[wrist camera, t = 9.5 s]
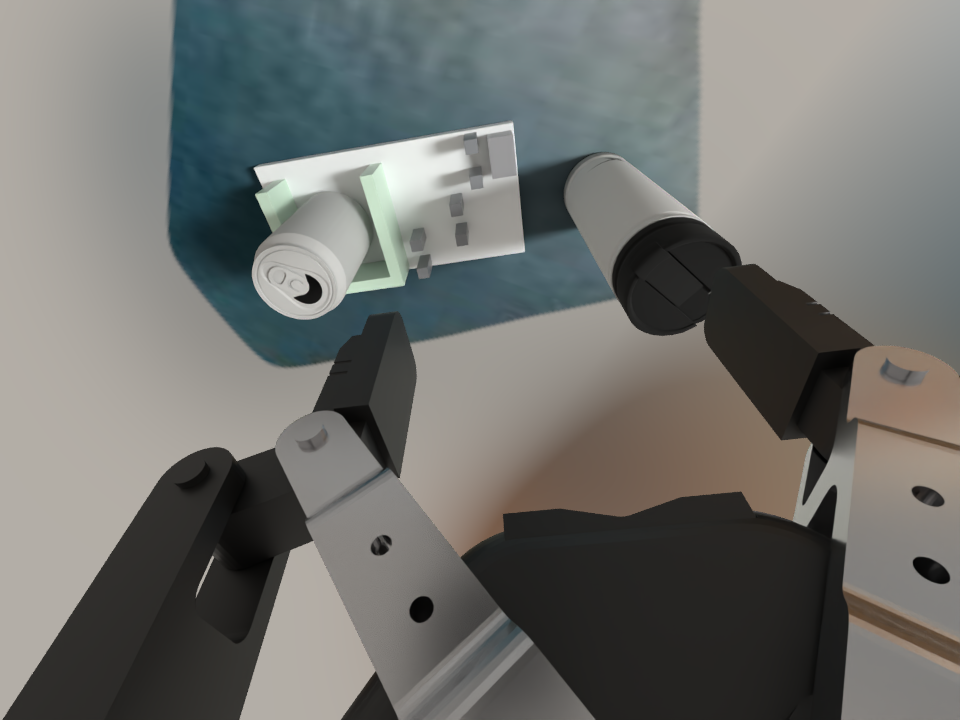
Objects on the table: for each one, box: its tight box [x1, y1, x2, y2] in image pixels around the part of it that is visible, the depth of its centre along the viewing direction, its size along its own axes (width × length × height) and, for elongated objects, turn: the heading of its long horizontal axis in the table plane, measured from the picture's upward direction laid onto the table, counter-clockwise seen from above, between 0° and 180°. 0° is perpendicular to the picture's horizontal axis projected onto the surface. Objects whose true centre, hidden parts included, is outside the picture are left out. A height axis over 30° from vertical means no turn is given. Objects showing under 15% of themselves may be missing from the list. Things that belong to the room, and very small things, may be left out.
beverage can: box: [252, 192, 373, 319], centre depth 34 cm, size 6×6×12 cm
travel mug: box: [564, 152, 742, 336], centre depth 30 cm, size 6×7×20 cm
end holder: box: [255, 163, 410, 294], centre depth 37 cm, size 10×10×4 cm
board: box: [254, 120, 525, 279], centre depth 37 cm, size 11×22×4 cm, turn 99°
